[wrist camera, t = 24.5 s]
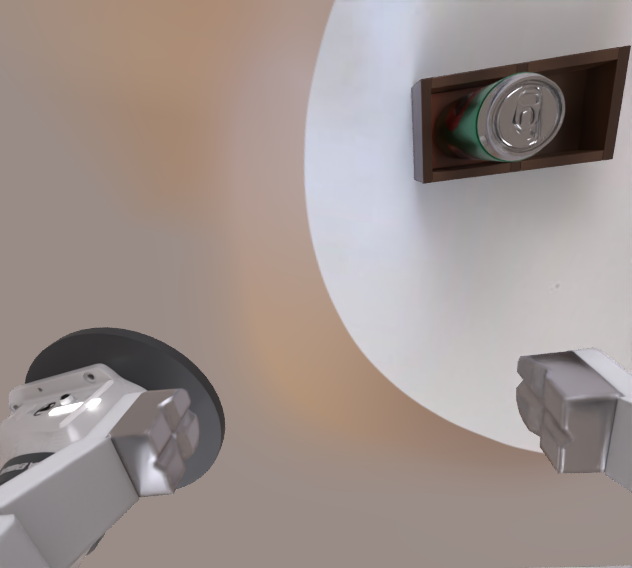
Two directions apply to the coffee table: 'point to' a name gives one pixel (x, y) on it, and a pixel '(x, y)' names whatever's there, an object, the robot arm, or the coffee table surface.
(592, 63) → the holder
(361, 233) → the coffee table surface
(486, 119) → the soda can
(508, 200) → the coffee table surface
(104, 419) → the robot arm
